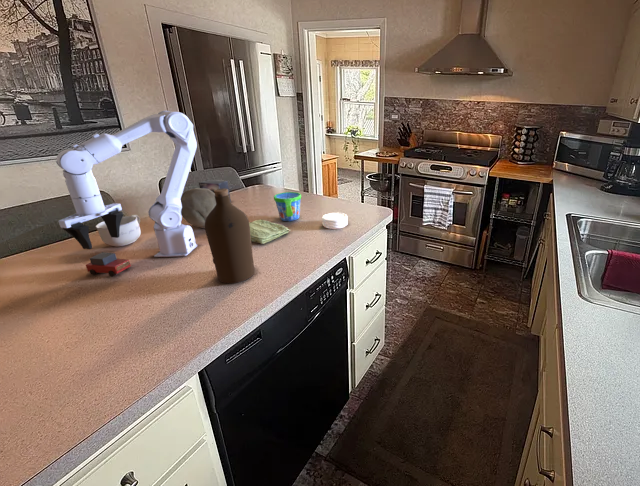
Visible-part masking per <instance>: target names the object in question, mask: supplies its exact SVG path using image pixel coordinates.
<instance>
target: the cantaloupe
mask: <svg viewBox="0 0 640 486" xmlns="http://www.w3.org/2000/svg"><path fill="white" fill-rule="evenodd" d="M214 196H215V194H214V193H213V192H212V191H211V190H209V189H206V188H200V187H197V188H190V189H187V190H185V191H183V193H182V196H181V204H182V209H181V216H182V219H184V220H185V221H186V222H187V223H188V224H189V225H190V226H194V227H197V228H200V229H205V220H206V218H207V216H208V215H209V213H210V212H211V211H212V210H213V208H214V207H215V206H216V201H215V197H214Z"/></svg>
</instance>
